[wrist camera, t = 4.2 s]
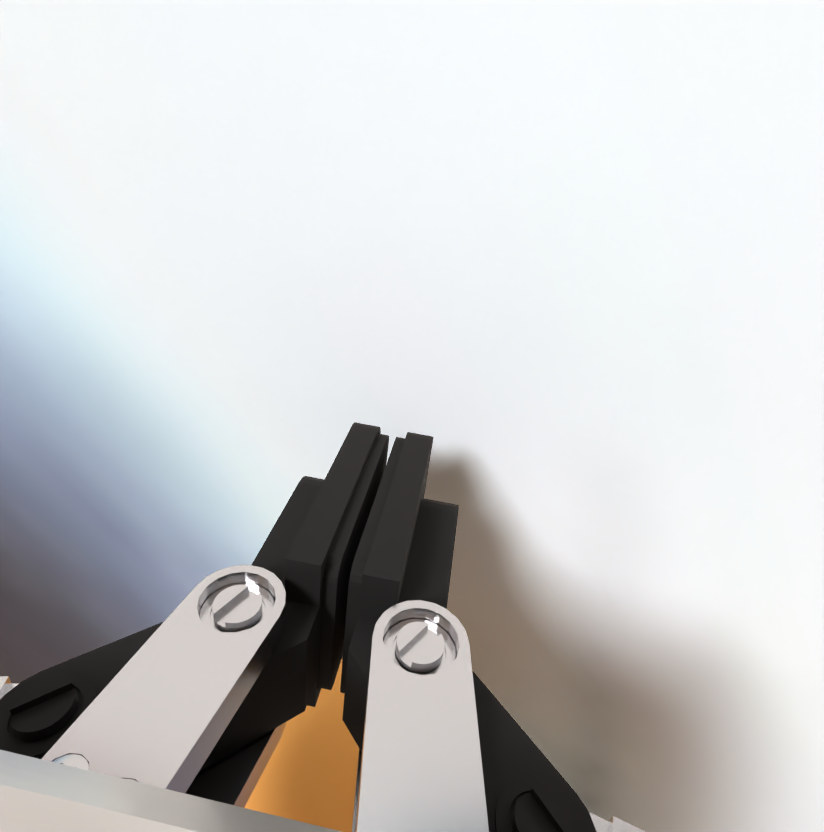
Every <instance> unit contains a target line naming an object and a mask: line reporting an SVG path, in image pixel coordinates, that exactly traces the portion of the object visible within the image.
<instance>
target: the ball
mask: <svg viewBox="0 0 824 832" xmlns="http://www.w3.org/2000/svg"><path fill="white" fill-rule="evenodd" d="M342 661H343V659H341V662H340V665H339V669H338V672H337V675H336V679H335V682H334V685H333V687H332V689H331V690H328V689H323V688H321V691H320V694H319V697H318V700H317V703H316V706H315V707H312V706H308V705H307V706H306V709H305V711H304V712H302V713H301V714H299V715H297V716H295V717H294V718H292V719H290V720H289V721H287V722H286V725H285V728H284V731H283V734H282V737H281V739H280V741H279V743H278V744H277V746H276V748H275V750H274V752H273V754H272V756H271V758H270V760H269V762H268V763H267V765H266V767H265V769H264V771H263V773H262V775H261V777H260V779H259V781H258V783H257V784H256V786H255V788H254V790H253V792H252V794H251V796H250V798H249V800H248V802H247V803H246V805H245V807H244V808H247V809H251V810H255V811H259V812H263V813H267V814H271V815H276V816H280V817H284V818H288V819H292V820H296V821H300V822H304V823H309V824H313V825H317V826H321V827H325V828H329V829H333V830H337V831H341V832H351V830H352V818H353V807H354V796H355V784H356V773H357V762H358V751H359V747H358V745H357V744H356V742H355V740H354V738H353V737H352V735H351V733H350V732H349V730H348V728H347V727H346V725H345V723H344V722H343V720H342V718H343V706H344V695H345V693H341V692H340V686H341V673H342Z"/></svg>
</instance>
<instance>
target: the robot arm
mask: <svg viewBox="0 0 824 832" xmlns="http://www.w3.org/2000/svg"><path fill="white" fill-rule="evenodd" d="M388 443H389V436H388V435H382V434H380V427H376V426H371V425H365V424H360V423H354V424H353V425H352V427H351V429H350V431H349V433H348V435H347V437H346V439H345V441H344V443H343V445H342V447H341V449H340V451H339V453H338V455H337V457H336V458H335V460H334V462H333V464H332V466H331V468H330V470H329V472H328V474H327V476H326V478H325V480H323V479H318V478H313V477H308V476H305V477H303V478H302V479H301V481H300V482H299V484H298V485H297V487H296V489H295V491H294V492H293V494H292V496H291V497H290V499H289V501H288V503H287V504H286V506H285V508H284V510H283V511H282V513H281V515H280V517H279V518H278V520H277V522H276V524H275V525H274V527H273V529H272V531H271V532H270V534H269V536H268V538H267V539H266V541H265V543H264V544H263V546H262V548H261V550H260V551H259V553H258V555H257V557H256V558H255V560H254V562H253V564H252V565H238V566H232V567H228V568H224V569H220V570H218V571H216V572H214V573H213V574H211V575H209V576H207V577H206V578H205V579H203V580H202V581H201V582H200V583H199V584H198V585H196V586H195V588H194V589H193V590H192V591H191V592H190V593H189V594H188V595H187V597H186V598H185V599H184V600H183V601H182V602H181V603H180V604H179V605H178V607H177V608H176V609H175V610H174V611H173V612H172V613H171V614H170V616H169V617H168V618H167V619H166V620H165V621H164V622H162V623H160V624H157V625H155V626H152V627H150V628H147V629H145V630H142V631H140V632H137V633H135V634H132V635H130V636H128V637H125V638H123V639H120V640H118V641H115V642H113V643H110V644H108V645H105V646H103V647H100V648H98V649H96V650H93V651H91V652H88V653H86V654H83V655H81V656H78V657H76V658H73V659H71V660H68V661H66V662H64V663H61V664H59V665H56V666H54V667H51V668H49V669H46V670H44V671H41V672H39V673H37V674H35V675H34V676H32V677H30V678H28V679H26V680H24V681H22V682H21V683H11V681H10V679H9V676H0V832H341V831H337V830H333V829H329V828H325V827H321V826H317V825H313V824H309V823H304V822H300V821H296V820H292V819H288V818H284V817H280V816H276V815H271V814H267V813H263V812H259V811H255V810H251V809H247V808H244V807H245V805H246V803H247V802H248V800H249V798H250V796H251V794H252V792H253V790H254V788H255V786H256V784H257V783H258V781H259V779H260V777H261V775H262V773H263V771H264V769H265V767H266V765H267V763H268V762H269V760H270V758H271V756H272V754H273V752H274V750H275V748H276V746H277V744H278V743H279V741H280V739H281V737H282V734H283V731H284V728H285V725H286V722H287V721H289V720H290V719H292V718H294V717H295V716H297V715H299V714H301V713H302V712H304V711H305V709H306V706H307V705H308V706H312V707H315V706H316V703H317V700H318V697H319V694H320V691H321V688H323V689H328V690H331V689H332V687H333V685H334V682H335V679H336V675H337V672H338V669H339V665H340V662H341V659H342V656H343V661H342V673H341V686H340V692H341V693H345V695H344V706H343V718H342V720H343V722H344V723H345V725H346V727H347V728H348V730H349V732H350V733H351V735H352V737H353V738H354V740H355V742H356V744H357V745H358V747H359V751H358V762H357V773H356V784H355V796H354V807H353V818H352V830H351V832H646V831H644V830H642V829H639V828H637V827H635V826H633V825H631V824H629V823H627V822H625V821H623V820H621V819H619V818H617V817H615V816H613V817H612V819H611V820H610V822H609V821H607V820H605V819H603V818H601V817H599V816H596V815H594V814H592V813H590V812H588V810H587V809H586V807H585V806H584V804H583V803H582V801H581V800H580V798H579V797H578V795H577V794H576V793H575V791H574V790H573V789H572V788H571V787H570V785H569V784H568V783H567V782H566V781H565V780H564V778H563V777H562V776H561V775H560V774H559V772H558V771H557V770H556V769H555V768H554V767H553V765H552V764H551V763H550V762H549V761H548V759H547V758H546V757H545V756H544V755H543V754H542V752H541V751H540V750H539V749H538V748H537V746H536V745H535V744H534V743H533V742H532V741H531V739H530V738H529V737H528V736H527V735H526V733H525V732H524V731H523V730H522V729H521V728H520V726H519V725H518V724H517V723H516V722H515V720H514V719H513V718H512V717H511V716H510V714H509V713H508V712H507V711H506V710H505V709H504V707H503V706H502V705H501V704H500V703H499V701H498V700H497V699H496V698H495V697H494V696H493V694H492V693H491V692H490V691H489V690H488V688H487V687H486V686H485V685H484V684H483V683H482V681H481V680H480V679H479V678H478V677H477V675H476V674H475V673H474V672H473V671H472V663H471V654H470V644H469V640H468V636H467V633H466V630H465V628H464V627H463V625H462V624H461V622H460V621H459V619H458V618H457V617H456V616H455V615H453V614H452V613H451V612H450V611H449V610H448V609H447V600H448V592H449V583H450V575H451V567H452V558H453V550H454V541H455V533H456V525H457V516H458V505H454V504H449V503H444V502H439V501H433V500H428V499H423V498H424V492H425V486H426V480H427V474H428V467H429V461H430V455H431V449H432V443H433V437H431V436H426V435H420V434H415V433H409V432H408V433H407V435H406V438H405V439H404V438H399V437H396V439H395V442H394V445H393V448H392V451H391V454H390V456H389V459H388V462H387V465H386V461H387V452H388Z"/></svg>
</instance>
